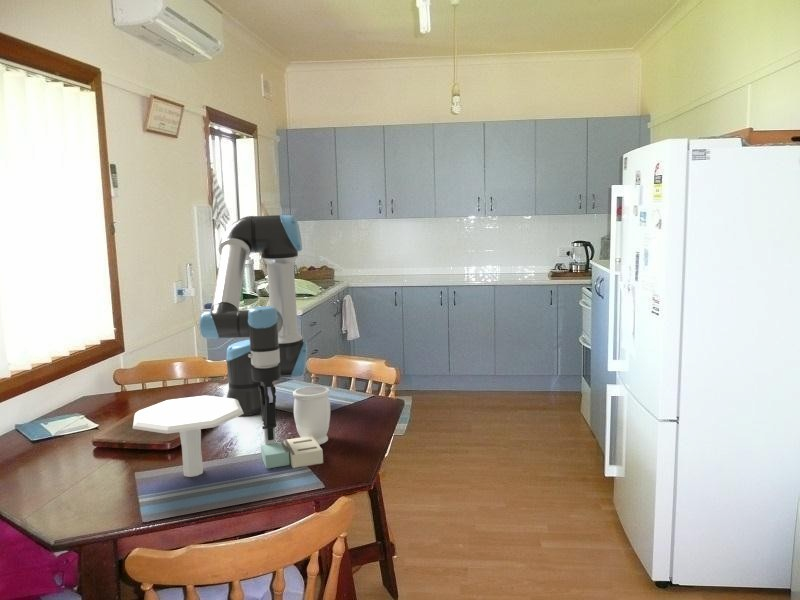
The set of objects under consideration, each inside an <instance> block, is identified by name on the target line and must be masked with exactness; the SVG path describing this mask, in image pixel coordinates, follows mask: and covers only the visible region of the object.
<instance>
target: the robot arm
mask: <svg viewBox="0 0 800 600" xmlns="http://www.w3.org/2000/svg"><path fill="white" fill-rule="evenodd" d="M300 230H301V229H300V226H299V223H298V220H297V218H296V217H295V216H294V215H289V214H288V215H287V214H275V215H248V216H244V217H242V218H239V219H237V220H236V221H234V222H233V223H232V224H231V225H230V226H229V227H228V228H226V230H225V231H224V233H223V235H222V237H221V238H220V241H219V247H218V252H219V255H220V258H219V259H220V260H219V265H218V271H217V276H216V281H215V285H214V291H213V296H212V297H213V298H212V303H211V307H210V310H208V311H205V312H202V313H201V314H200V318H199V330H200V334H201V336H202V337H203V338H204V339H214V340H215V339H217V340H219V339H234V338H236V339H237V338H249V339H245V340H241V341H237V342H234V343H232V344H230V345H228V347H227V349H226V359H225V361H226V365H227V366H226V368H227V370H226V371H227V381H228V389H227V390H228V391H227V394H226V398H233V399H236V400H238V402H239V404H240V406H241V408H242V411H243V413H244V414H242V415H240V416H241V417H242V416H243V417H244V416H245V417H246V416H254V415H258V414H261V417H262V418H261V420H262V422H263V424H262V426H261V427H262V430H263V433H264V434H263V435H264V445H266V444H273V443H277V442H276V427H277V417H276V416H277V413H276V411H277V410H276V408H277V407H276V405H277V404H276V403H277V402H276V400H277V396H276V391H277V390H276V386H274V385H275V384H274V383H273V382H274V381H278V380H280V379H281V378H282V379H283V378H290V379H292V378H296V377H302V376H304V375H305V373H306V366H307V361H308V360H307V358H308V344H309V343H308V342H307V341H304V337H303V335H302V334H301V333H299V328H298V314H297V299H296V298H297V296H296V283H295V282H296V280H295V278H296V277H295V265H294V264H295V263H294V262H295V260H296V259H297V258H298V257H299V255H298V254H299V253H298V252H301V251H302V250H303V243H302V236H301V231H300ZM252 253H261V259H262V260H263V261H265V263H266V268H267V271H266V272H267V282H268V285H267V286H268V296H269V297H268V299H269V305H264V306H263V305H262V306H254V307H250V308H249V309H247V310H244V309H243V310H240V302H241V298H242V297H241V295H242V288H243V281H244V275H245V268H246V262H247V259H249V257H250V255H251V254H252Z"/></svg>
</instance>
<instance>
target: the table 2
mask: <svg viewBox="0 0 800 600" xmlns="http://www.w3.org/2000/svg"><path fill="white" fill-rule="evenodd" d="M242 414H244V413H243V411H242V408H241V406H240V404H239V402H238V400H236V399H233V398H227V397H222V396H215V395H214V396H213V395H207V394H206V395H197V396H189V397H181V398H172V399H166V400H164V401H160V402H158V403H156V404H152V405H150V406H147V407H145V408H142V409H140V410H138V411H136V412H135V413H134V415H133V424H132V429H133V430H139V431H140V430H141V431H145V432H146V431H147V432H151V433H153V432H154V433H160V434H168V435H169V434H173V433H179V438H180V444H181V455H182V467H183V468H182V471H183V476H184V477H189V478H192V477H193V478H194V477H198V476H199V475H202V474H203V473H204V466H203V455H202V431H201V430H203V429H210V428H217V427H218V426H220V425H221V426H222V425H223V424H225V423H227V422H230V421H231V420H234V419H236V418H238V417H239V416H240V415H242Z"/></svg>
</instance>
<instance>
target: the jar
mask: <svg viewBox="0 0 800 600" xmlns="http://www.w3.org/2000/svg"><path fill="white" fill-rule="evenodd" d="M329 394H330V389H329V388H328V387H327V386H322V385H321V386H320V385H312V386H311V385H310V386H303V387H299V388H296V389H294V390H293V391H292V396H293V397H294V401H293V417H294V422H295V427H296V430H297V434H298V436H299V438H300V437H307V436H313V437H314V439H315V440H316V442H317V443H318V444H319V446H320V445H324V444H325V443H326V442H328V441H329V437H328V435H327V434H328V431H329V430H330V429H329V427H330V420H331V403H330V398H329Z"/></svg>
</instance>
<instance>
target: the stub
mask: <svg viewBox="0 0 800 600" xmlns="http://www.w3.org/2000/svg"><path fill="white" fill-rule="evenodd" d="M260 452H261V454H260V455H261V459H262V463H264V466H265V469H267V470H268V469H272V468H278V467H284V466H291V464H290V462H289V451H288V449H287V448H286V446H285V444H284V441H280V442H276V443H273V444H266V445H265V444H262V445H260Z"/></svg>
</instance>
